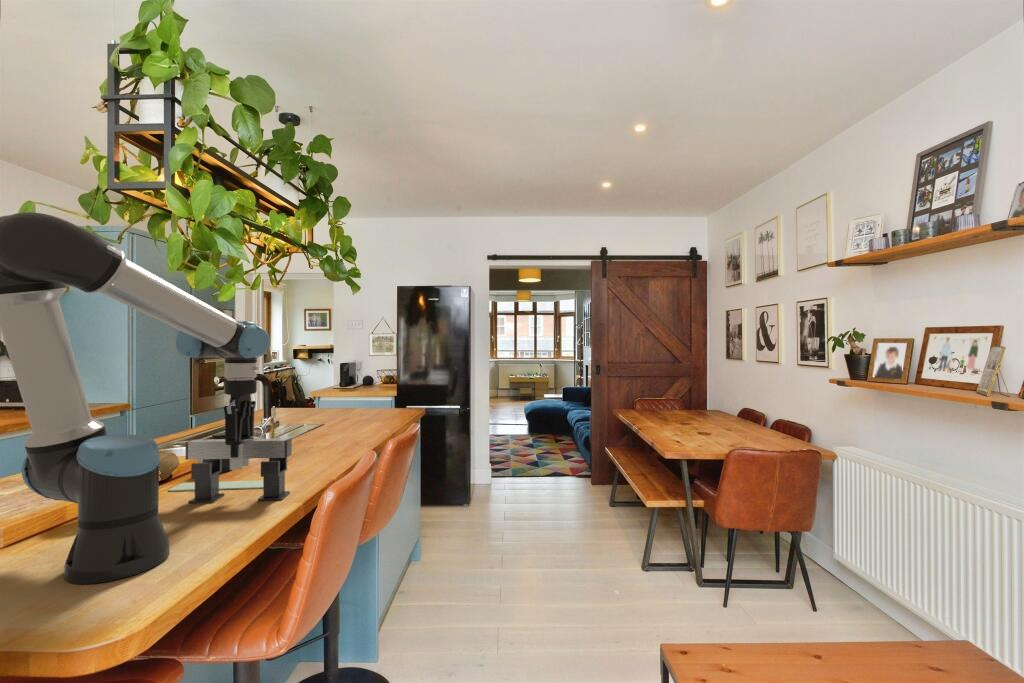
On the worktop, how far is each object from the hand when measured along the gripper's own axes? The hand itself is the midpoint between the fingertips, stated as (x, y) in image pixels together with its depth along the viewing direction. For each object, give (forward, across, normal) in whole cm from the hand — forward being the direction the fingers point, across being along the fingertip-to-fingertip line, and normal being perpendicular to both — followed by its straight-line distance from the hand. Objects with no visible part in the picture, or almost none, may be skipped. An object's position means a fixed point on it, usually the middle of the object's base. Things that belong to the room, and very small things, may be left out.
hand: (239, 467), depth 127 cm
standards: (+8, 0, 0) cm, 8 cm away
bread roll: (+9, +23, +33) cm, 41 cm away
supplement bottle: (+8, +30, +19) cm, 37 cm away
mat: (+8, +12, +9) cm, 17 cm away
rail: (-3, 0, 0) cm, 3 cm away
